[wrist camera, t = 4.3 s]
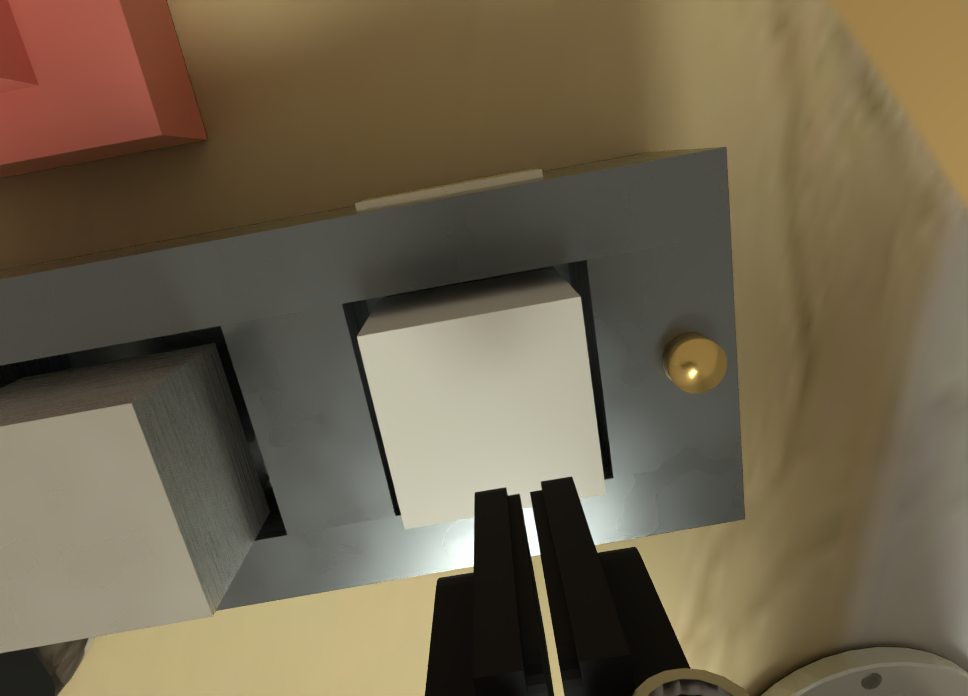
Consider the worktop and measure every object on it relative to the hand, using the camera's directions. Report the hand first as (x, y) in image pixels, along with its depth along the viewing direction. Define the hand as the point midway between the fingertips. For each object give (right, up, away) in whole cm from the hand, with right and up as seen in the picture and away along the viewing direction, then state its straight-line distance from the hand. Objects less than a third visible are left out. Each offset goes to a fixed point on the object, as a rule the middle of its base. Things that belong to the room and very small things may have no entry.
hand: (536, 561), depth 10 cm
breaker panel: (-6, +3, +11) cm, 13 cm away
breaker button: (-1, +3, +8) cm, 8 cm away
